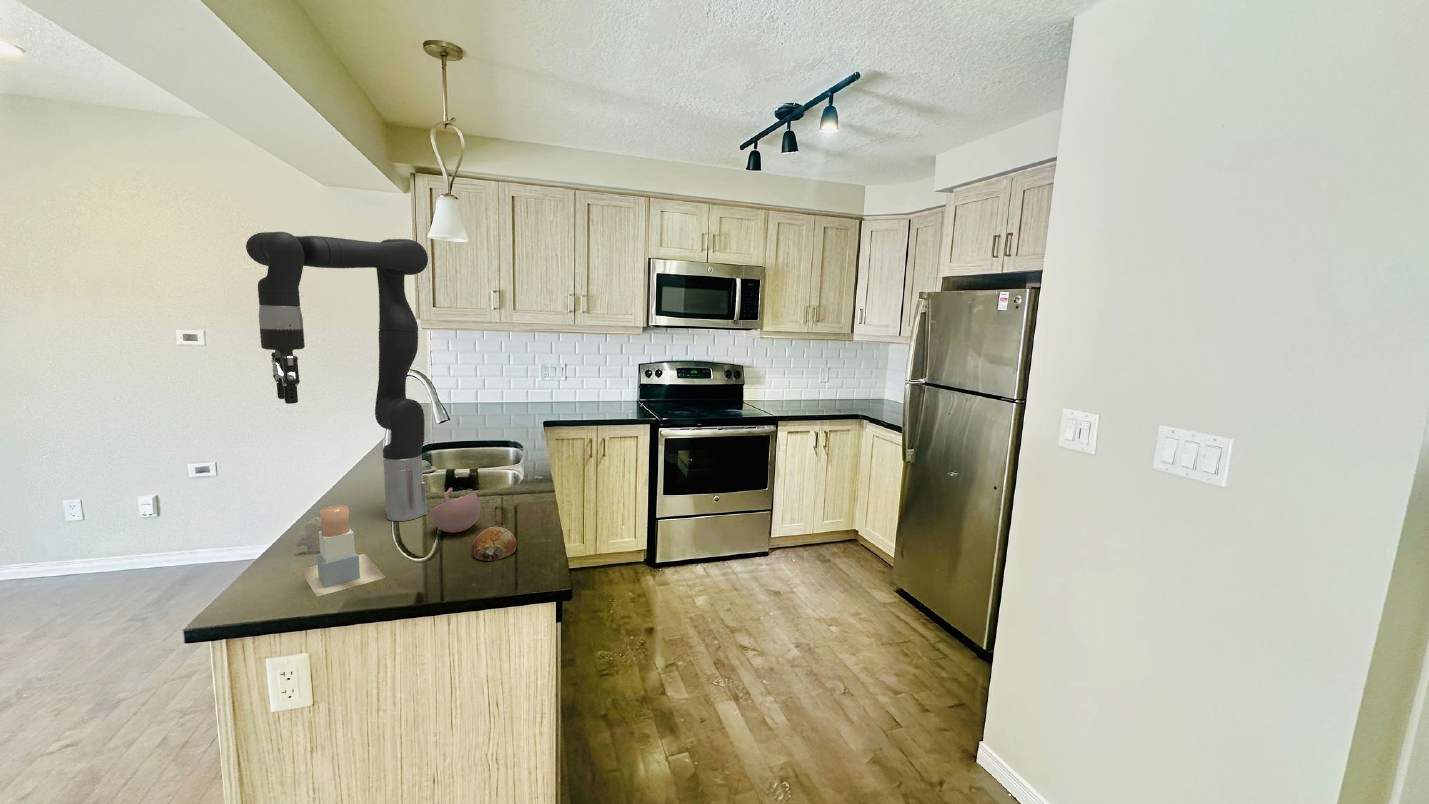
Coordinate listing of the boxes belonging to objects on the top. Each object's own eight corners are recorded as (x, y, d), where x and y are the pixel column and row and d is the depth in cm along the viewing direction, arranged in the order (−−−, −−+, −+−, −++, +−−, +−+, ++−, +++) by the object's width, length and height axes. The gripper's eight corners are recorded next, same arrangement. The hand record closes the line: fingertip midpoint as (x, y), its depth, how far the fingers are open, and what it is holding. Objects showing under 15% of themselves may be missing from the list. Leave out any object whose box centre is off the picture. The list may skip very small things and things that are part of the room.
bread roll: (520, 565, 135) (529, 532, 137) (493, 563, 126) (503, 528, 128) (487, 558, 138) (496, 526, 140) (458, 556, 129) (468, 521, 131)
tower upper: (348, 548, 118) (347, 525, 117) (355, 555, 114) (353, 532, 114) (320, 554, 114) (318, 531, 113) (326, 562, 111) (324, 538, 110)
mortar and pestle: (459, 519, 153) (458, 479, 152) (491, 528, 148) (490, 486, 147) (420, 534, 143) (418, 491, 141) (452, 543, 138) (450, 499, 136)
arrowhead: (295, 562, 124) (292, 520, 123) (297, 558, 127) (294, 516, 125) (338, 556, 128) (335, 515, 127) (339, 552, 130) (336, 511, 129)
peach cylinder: (346, 526, 117) (345, 503, 116) (352, 532, 114) (351, 509, 113) (319, 531, 113) (317, 508, 113) (324, 538, 110) (322, 514, 109)
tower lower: (352, 568, 119) (350, 546, 118) (360, 578, 115) (358, 555, 114) (318, 577, 115) (316, 554, 114) (325, 587, 111) (323, 564, 110)
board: (364, 559, 127) (364, 553, 127) (386, 584, 116) (386, 577, 116) (300, 575, 119) (299, 569, 118) (317, 603, 108) (316, 596, 107)
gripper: (310, 328, 118) (315, 403, 121) (296, 326, 128) (301, 395, 130) (265, 328, 113) (271, 406, 115) (254, 325, 123) (261, 398, 125)
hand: (287, 400), depth 123 cm, fingers open, 8 cm apart
